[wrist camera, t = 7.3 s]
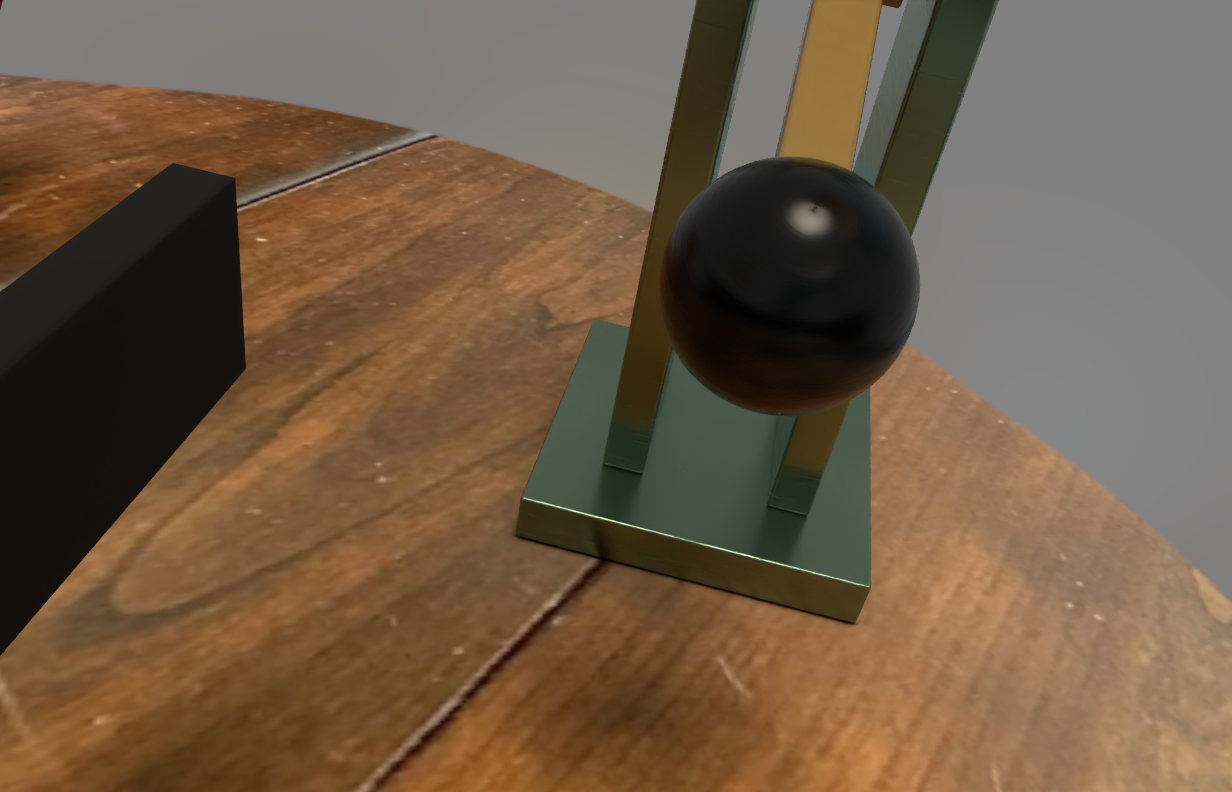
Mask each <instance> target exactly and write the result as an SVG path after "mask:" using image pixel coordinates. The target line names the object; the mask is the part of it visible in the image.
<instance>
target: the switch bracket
mask: <svg viewBox="0 0 1232 792" xmlns="http://www.w3.org/2000/svg"><path fill="white" fill-rule="evenodd" d="M998 2H999V0H908V1H907V4H906V7H905V10H904V13H903V17H902V20H901V23H900V26H899V29H898V32H897V35H896V39H895V42H894V45H893V48H892V51H891V54H890V58H889V60H888V64H887V67H886V70H885V73H884V76H883V79H882V82H881V85H880V89H879V92H878V95H877V98H876V101H875V104H874V107H873V110H872V114H871V117H870V120H869V123H868V126H867V129H866V132H865V136H864V139H863V142H862V145H861V148H860V151H859V155H858V157H857V160H856V164H855V167H854V170H853V172H854V173H856V174H857V175H859V176H860V177H862V178H864V179H865V180H866V181H868V182H869V183H870V184H872V185H873V186H874V187H875V188H877V189H878V190H879V191H880V192H881V193H882V194H883V195H884V196H885V197H886V198H887V199H888V200H889V201H890V203H891V204H892V205H893V206H894V208H895V209H896V210H897V212H898V214H899V215H900V217H901V219H902V220H903V222H904V224H905V225H906V227H907V229H908V231H909V234H910V236H911V237H912V234H913V232H914V229H915V226H916V223H917V220H918V218H919V215H920V213H921V210H922V207H923V204H924V202H925V199H926V196H927V194H928V191H929V188H930V185H931V183H932V180H933V178H934V175H935V172H936V169H937V167H938V164H939V161H940V158H941V156H942V153H943V151H944V148H945V145H946V142H947V140H948V137H949V134H950V132H951V129H952V126H953V123H954V121H955V118H956V115H957V113H958V110H959V107H960V105H961V102H962V99H963V97H964V94H965V91H966V88H967V86H968V83H969V80H970V78H971V75H972V72H973V69H974V67H975V64H976V61H977V58H978V56H979V53H980V51H981V48H982V45H983V42H984V40H985V37H986V34H987V32H988V29H989V26H990V24H991V21H992V18H993V15H994V13H995V10H996V7H997V4H998ZM758 3H759V0H696V5H695V10H694V15H693V20H692V24H691V30H690V34H689V39H688V44H687V49H686V55H685V59H684V64H683V69H682V74H681V78H680V83H679V89H678V94H677V98H676V103H675V108H674V113H673V118H672V123H671V128H670V133H669V137H668V142H667V147H666V153H665V157H664V162H663V167H662V172H661V177H660V182H659V187H658V192H657V196H656V201H655V206H654V211H653V216H652V221H651V226H650V231H649V236H648V241H647V245H646V250H645V255H644V260H643V265H642V270H641V275H640V280H639V285H638V290H637V295H636V299H635V304H634V309H633V314H632V319H631V324H630V328H629V327H625V326H620V325H616V324H612V323H608V322H604V321H600V320H594V321H593V324H592V326H591V329H590V331H589V334H588V336H587V338H586V341H585V343H584V346H583V348H582V351H581V353H580V355H579V358H578V360H577V363H576V365H575V368H574V370H573V373H572V375H571V377H570V380H569V382H568V385H567V387H566V390H565V392H564V394H563V397H562V399H561V402H560V404H559V407H558V409H557V412H556V414H555V416H554V419H553V421H552V424H551V426H550V429H549V431H548V434H547V436H546V438H545V441H544V443H543V446H542V448H541V451H540V453H539V455H538V458H537V460H536V463H535V465H534V468H533V470H532V473H531V475H530V477H529V480H528V482H527V485H526V487H525V490H524V492H523V494H522V497H521V501H520V508H519V515H518V521H517V528H516V535H517V536H520V537H524V538H528V539H532V540H536V541H539V542H543V543H547V544H551V545H555V546H559V547H563V548H566V549H570V550H574V551H578V552H582V553H586V554H589V555H593V556H597V557H601V558H605V559H609V560H613V561H616V562H620V563H624V564H628V565H632V566H636V567H640V568H643V569H647V570H651V571H655V572H659V573H663V574H667V575H670V576H674V577H678V578H682V579H686V580H690V581H693V582H697V583H701V584H705V585H709V586H713V587H717V588H720V589H724V590H728V591H732V592H736V593H740V594H744V595H747V596H751V597H755V598H759V599H763V600H767V601H770V602H774V603H778V604H782V605H786V606H790V607H794V608H797V609H801V610H805V611H809V612H813V613H817V614H821V615H824V616H828V617H832V618H836V619H840V620H844V621H847V622H851V623H855V622H856V621H857V618H858V616H859V614H860V611H861V609H862V607H863V605H864V602H865V600H866V598H867V596H868V593H869V591H870V589H871V527H870V387H869V388H868V389H867V390H865V391H864V392H863V393H861V394H860V395H858V396H856V397H855V398H853V399H851V400H849V401H847V402H845V403H843V404H841V405H838V406H836V407H834V408H832V409H828V410H825V411H822V412H818V413H813V414H807V415H799V416H774V415H766V414H761V413H755V412H752V411H749V410H746V409H742V408H740V407H737V406H735V405H733V404H731V403H728V402H727V401H725V400H723V399H721V398H720V397H718V396H716V395H715V394H713V393H712V392H711V391H709V390H708V389H707V388H705V387H704V386H703V385H702V384H701V383H700V382H699V381H698V380H697V379H696V378H695V377H694V376H693V375H692V374H691V373H690V372H689V371H688V370H687V368H686V367H685V366H684V365H683V364H682V362H681V361H680V359H679V358H678V356H677V354H676V353H675V351H674V349H673V347H672V345H671V343H670V340H669V338H668V336H667V334H666V331H665V328H664V325H663V321H662V318H661V312H660V306H659V298H658V283H659V270H660V264H661V259H662V255H663V252H664V248H665V246H666V243H667V240H668V238H669V235H670V233H671V231H672V230H673V228H674V226H675V224H676V222H677V221H678V219H679V217H680V215H681V214H682V213H683V211H684V210H685V209H686V208H687V206H688V205H689V204H690V203H691V201H692V200H693V199H694V198H695V197H696V196H697V195H698V194H699V193H700V192H701V191H702V190H703V189H704V188H706V187H707V186H708V185H710V184H711V183H712V182H714V181H715V180H717V175H718V170H719V167H720V163H721V159H722V154H723V150H724V146H725V142H726V137H727V133H728V129H729V125H730V121H731V117H732V112H733V108H734V104H735V100H736V96H737V91H738V87H739V83H740V79H741V74H742V70H743V66H744V62H745V57H746V54H747V49H748V45H749V41H750V37H751V33H752V28H753V24H754V20H755V16H756V12H757V7H758Z"/></svg>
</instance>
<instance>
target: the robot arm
mask: <svg viewBox="0 0 1232 792" xmlns="http://www.w3.org/2000/svg"><path fill="white" fill-rule="evenodd" d="M245 369H246V363H245V345H244V327H243V309H242V291H241V273H240V255H239V238H238V220H237V202H236V184H235V178H233V177H229V176H225V175H221V174H216V173H212V172H208V171H204V170H200V169H196V168H191V167H187V166H183V165H179V164H175V163H172V164H171V165H170V166H168V167H167V168H166V169H164V170H163V171H162V172H160V173H159V174H158V175H156V176H155V177H154V178H152V179H151V180H150V181H148V182H147V183H146V184H144V185H143V186H142V187H140V188H139V189H138V190H136V191H135V192H133V193H132V194H131V195H129V196H128V197H127V198H125V199H124V200H123V201H121V202H120V203H119V204H117V205H116V206H115V207H113V208H112V209H111V210H109V211H108V212H107V213H105V214H104V215H103V216H101V217H100V218H99V219H97V220H96V221H95V222H93V223H92V224H91V225H89V226H88V227H87V228H85V229H84V230H83V231H81V232H80V233H78V234H77V235H76V236H74V237H73V238H72V239H70V240H69V241H68V242H66V243H65V244H64V245H62V246H61V247H60V248H58V249H57V250H56V251H54V252H53V253H52V254H50V255H49V256H48V257H46V258H45V259H44V260H42V261H41V262H40V263H38V264H37V265H36V266H34V267H33V268H32V269H30V270H29V271H28V272H26V273H25V274H23V275H22V276H21V277H19V278H18V279H17V280H15V281H14V282H13V283H11V284H10V285H9V286H7V287H6V288H5V289H3V290H2V291H1V292H0V655H1V654H2V653H3V652H4V651H5V650H6V648H7V647H8V646H9V645H10V644H11V643H12V641H13V640H14V639H15V638H16V637H17V636H18V634H19V633H20V632H21V631H22V630H23V628H24V627H25V626H26V625H27V624H28V623H29V621H30V620H31V619H32V618H33V617H34V616H35V614H36V613H37V612H38V611H39V610H40V609H41V607H42V606H43V605H44V604H45V603H46V602H47V600H48V599H49V598H50V597H51V596H52V595H53V593H54V592H55V591H56V590H57V589H58V588H59V586H60V585H61V584H62V583H63V582H64V581H65V579H66V578H67V577H68V576H69V575H70V574H71V572H72V571H73V570H74V569H75V568H76V567H77V565H78V564H79V563H80V562H81V561H82V560H83V558H84V557H85V556H86V555H87V554H88V553H89V551H90V550H91V549H92V548H93V547H94V546H95V544H96V543H97V542H98V541H99V540H100V539H101V537H102V536H103V535H104V534H105V533H106V532H107V530H108V529H109V528H110V527H111V526H112V524H113V523H114V522H115V521H116V520H117V519H118V517H119V516H120V515H121V514H122V513H123V512H124V510H125V509H126V508H127V507H128V506H129V505H130V503H131V502H132V501H133V500H134V499H135V498H136V496H137V495H138V494H139V493H140V492H141V491H142V489H143V488H144V487H145V486H146V485H147V484H148V482H149V481H150V480H151V479H152V478H153V477H154V475H155V474H156V473H157V472H158V471H159V470H160V468H161V467H162V466H163V465H164V464H165V463H166V461H167V460H168V459H169V458H170V457H171V456H172V454H173V453H174V452H175V451H176V450H177V449H178V447H179V446H180V445H181V444H182V443H183V442H184V440H185V439H186V438H187V437H188V436H189V435H190V433H191V432H192V431H193V430H194V429H195V428H196V426H197V425H198V424H199V423H200V422H201V420H202V419H203V418H204V417H205V416H206V415H207V413H208V412H209V411H210V410H211V409H212V408H213V406H214V405H215V404H216V403H217V402H218V401H219V399H220V398H221V397H222V396H223V395H224V394H225V392H226V391H227V390H228V389H229V388H230V387H231V385H232V384H233V383H234V382H235V381H236V380H237V378H238V377H239V376H240V375H241V374H242V373H243V371H244V370H245Z"/></svg>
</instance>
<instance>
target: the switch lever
mask: <svg viewBox="0 0 1232 792" xmlns="http://www.w3.org/2000/svg"><path fill="white" fill-rule="evenodd" d="M902 1H903V0H811V2H810V7H809V11H808V15H807V20H806V24H805V29H804V33H803V38H802V42H801V46H800V50H799V55H798V59H797V63H796V68H795V72H794V77H793V81H792V85H791V89H790V94H789V99H788V103H787V107H786V111H785V116H784V120H783V124H782V129H781V133H780V137H779V142H778V146H777V150H776V155H775V158H767V159H763V160H759V161H754V162H752V163H749V164H746V165H744V166H741V167H739V168H736V169H734V170H732V171H730V172H728V173H726V174H724V175H723V176H721V177H720V178H718V179H717V180H715V181H714V182H712V183H711V184H710V185H708V186H707V187H706V188H704V189H703V190H702V191H701V192H700V193H699V194H698V195H697V196H696V197H695V198H694V199H693V200H692V201H691V203H690V204H689V205H688V206H687V208H686V209H685V210H684V211H683V213H682V214H681V215H680V217H679V219H678V221H677V222H676V224H675V226H674V228H673V230H672V231H671V233H670V235H669V238H668V240H667V243H666V246H665V248H664V252H663V255H662V259H661V264H660V270H659V283H658V298H659V306H660V312H661V318H662V321H663V325H664V328H665V331H666V334H667V336H668V338H669V340H670V343H671V345H672V347H673V349H674V351H675V353H676V354H677V356H678V358H679V359H680V361H681V362H682V364H683V365H684V366H685V367H686V368H687V370H688V371H689V372H690V373H691V374H692V375H693V376H694V377H695V378H696V379H697V380H698V381H699V382H700V383H701V384H702V385H703V386H704V387H705V388H707V389H708V390H709V391H711V392H712V393H713V394H715V395H716V396H718V397H720V398H721V399H723V400H725V401H727V402H728V403H731V404H733V405H735V406H737V407H740V408H742V409H746V410H749V411H752V412H755V413H761V414H766V415H774V416H799V415H807V414H813V413H818V412H822V411H825V410H828V409H832V408H834V407H836V406H838V405H841V404H843V403H845V402H847V401H849V400H851V399H853V398H855V397H856V396H858V395H860V394H861V393H863V392H864V391H865V390H867V389H868V388H869V387H870V386H871V385H873V384H874V383H875V382H876V381H877V380H878V379H880V378H881V377H882V376H883V375H884V374H885V372H886V371H887V370H888V369H889V368H890V366H891V365H892V364H893V363H894V361H895V360H896V359H897V357H898V356H899V354H900V352H901V351H902V349H903V347H904V346H905V344H906V341H907V339H908V337H909V335H910V332H911V329H912V327H913V324H914V321H915V316H916V312H917V308H918V302H919V293H920V276H919V265H918V260H917V256H916V252H915V248H914V245H913V241H912V238H911V236H910V234H909V231H908V229H907V227H906V225H905V224H904V222H903V220H902V219H901V217H900V215H899V214H898V212H897V210H896V209H895V208H894V206H893V205H892V204H891V203H890V201H889V200H888V199H887V198H886V197H885V196H884V195H883V194H882V193H881V192H880V191H879V190H878V189H877V188H875V187H874V186H873V185H872V184H870V183H869V182H868V181H866V180H865V179H864V178H862V177H860V176H859V175H857V174H856V173H854V172H852V167H853V162H854V156H855V151H856V145H857V139H858V134H859V129H860V123H861V118H862V112H863V106H864V101H865V95H866V90H867V84H868V79H869V73H870V68H871V62H872V57H873V51H874V45H875V40H876V35H877V29H878V24H879V18H880V12H881V7H882V5H886V6H890V7H895V8H899V7H900V6H901V3H902Z"/></svg>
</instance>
